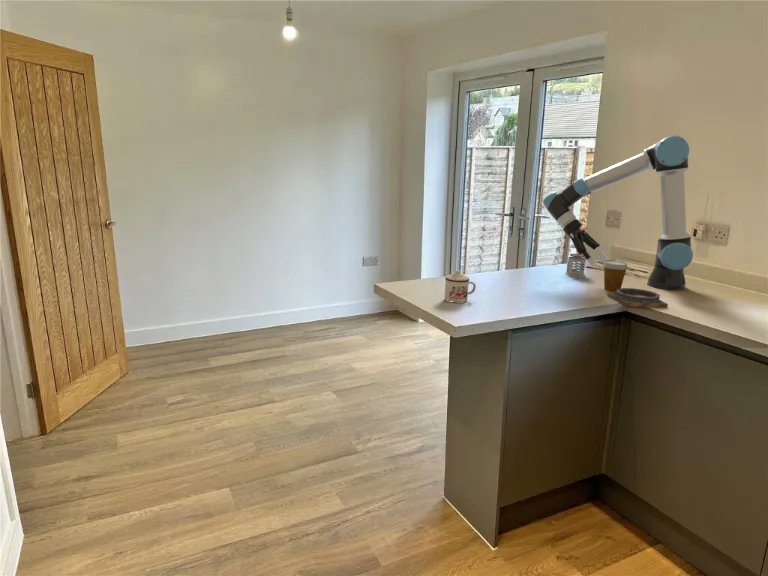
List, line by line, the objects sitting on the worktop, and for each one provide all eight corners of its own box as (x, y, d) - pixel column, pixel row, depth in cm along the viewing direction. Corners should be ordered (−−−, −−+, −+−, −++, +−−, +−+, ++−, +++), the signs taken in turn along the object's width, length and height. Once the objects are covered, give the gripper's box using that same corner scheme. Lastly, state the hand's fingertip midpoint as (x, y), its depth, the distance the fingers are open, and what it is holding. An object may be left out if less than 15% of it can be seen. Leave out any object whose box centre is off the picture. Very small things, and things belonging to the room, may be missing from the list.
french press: (588, 277, 253) (595, 224, 247) (564, 276, 253) (570, 223, 247) (581, 273, 262) (588, 222, 256) (558, 272, 262) (563, 221, 256)
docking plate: (646, 296, 219) (647, 288, 218) (667, 307, 203) (668, 298, 203) (607, 295, 219) (609, 287, 218) (625, 306, 203) (626, 297, 202)
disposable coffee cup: (626, 293, 223) (630, 265, 220) (602, 292, 225) (606, 264, 222) (621, 288, 232) (625, 261, 229) (598, 286, 234) (601, 259, 231)
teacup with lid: (447, 303, 198) (449, 273, 196) (440, 297, 207) (442, 268, 204) (478, 303, 201) (480, 273, 198) (470, 297, 209) (472, 267, 207)
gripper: (573, 226, 247) (602, 263, 241) (551, 231, 228) (582, 271, 222) (586, 216, 242) (616, 253, 237) (565, 220, 223) (597, 260, 218)
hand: (599, 262), depth 229 cm, fingers open, 13 cm apart
